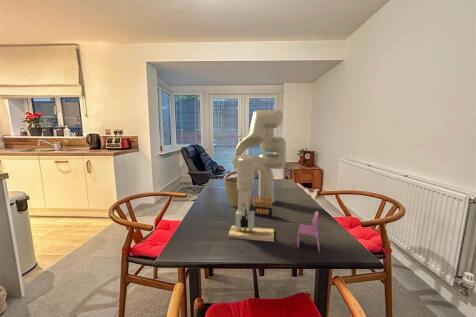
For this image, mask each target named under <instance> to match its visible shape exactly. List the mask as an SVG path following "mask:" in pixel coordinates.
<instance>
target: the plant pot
mask: <svg viewBox="0 0 476 317" xmlns="http://www.w3.org/2000/svg"><path fill="white" fill-rule="evenodd" d="M223 180H224V187H225V188H224V189H225V193H226V196H227V200H228V202H229V206H230V207H235V208H238V195H239V190H238V189H237V176H236V177H234V176H233V177H227V178H225V179H223Z"/></svg>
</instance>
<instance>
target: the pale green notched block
mask: <svg viewBox="0 0 476 317" xmlns="http://www.w3.org/2000/svg"><path fill="white" fill-rule="evenodd" d="M245 212H247V211H245ZM254 214H255V211H253V210H249V212H248V215H247V219H248V228H245V229H254V227H255V215H254ZM245 215H246V214H245ZM235 226H236V227H235V228H244V227H241V211H240V212H238V209H236V212H235Z"/></svg>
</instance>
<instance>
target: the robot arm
mask: <svg viewBox="0 0 476 317" xmlns="http://www.w3.org/2000/svg"><path fill="white" fill-rule="evenodd" d="M283 114H284V113H283V111H282V110H280V109H260V110H259V109H257V110H255V111H253V112H252V117H251V120H250V124H249V128H248V132H247V136H245V137H244V138H243V139H242V140H241V141H239V143H238V144H237V145H236V147H235V149H234V153H233V157H232V167H233V169H234V170H236V177H237V189H238V190H239V195H238V207H237V210H238V212H240V211H241V227H244V228H248V219H247V215H248V212H249V211H251V206H252V205H251V204H252V191H254V190H255V172H258V191H257V192H258V193H257V195H258V194H259V204H260V196H261V194H262V202H263V197H264V195H265V200H267V195H268V197H269V202H270V196H272V204H274V203H276V198H274V179H275V176H274V173H273V171H272V169H273V170H275V169H276V170H283V169H284V168H285V166H286V159H287V158H286V157H287V155H286V153H287V152H286V140H285V138H284V137H279V136H274V129H278V128H279V127H280V126H281V125H282V123H283V120H284V115H283ZM257 145H259V149H260V151H261V152H262V153H261V154H259V155H254V154H244V152H245V151H246V150H248V149H250V148H252V147H255V146H257ZM264 152H265V153H264ZM256 202H257V197H256ZM245 211H247V212H245ZM245 214H246V215H245Z"/></svg>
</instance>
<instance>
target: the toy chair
mask: <svg viewBox="0 0 476 317" xmlns="http://www.w3.org/2000/svg"><path fill="white" fill-rule="evenodd" d="M319 213H320V212H319V211H318V210H317V211H315V212H314V214H313V216H312V219H311V222H312V223H311V224H312V225H306V224H302V223H301V224H300V225H299V227H298V231H297V235H296V243H297V244H296V245H297V248H300V242H301V239H300V234H303V235H309V236H313V237H315V238H316V242H317V243H316V244H317V250H318V253H320V240H319V233H318V229H317V226H318V222H319V217H318V216H319Z"/></svg>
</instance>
